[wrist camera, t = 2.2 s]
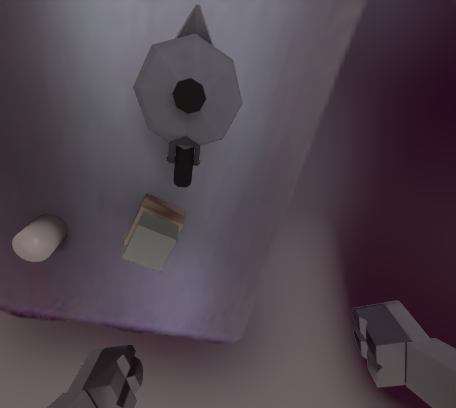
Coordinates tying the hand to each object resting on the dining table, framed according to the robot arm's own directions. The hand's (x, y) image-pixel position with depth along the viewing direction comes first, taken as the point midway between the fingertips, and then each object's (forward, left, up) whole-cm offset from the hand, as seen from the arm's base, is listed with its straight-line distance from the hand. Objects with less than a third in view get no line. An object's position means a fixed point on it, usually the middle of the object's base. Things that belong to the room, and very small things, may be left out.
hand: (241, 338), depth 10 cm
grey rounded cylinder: (-15, -20, -31) cm, 40 cm away
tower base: (-2, -12, -31) cm, 33 cm away
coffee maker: (-5, +5, -31) cm, 32 cm away
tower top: (-2, -12, -26) cm, 29 cm away
